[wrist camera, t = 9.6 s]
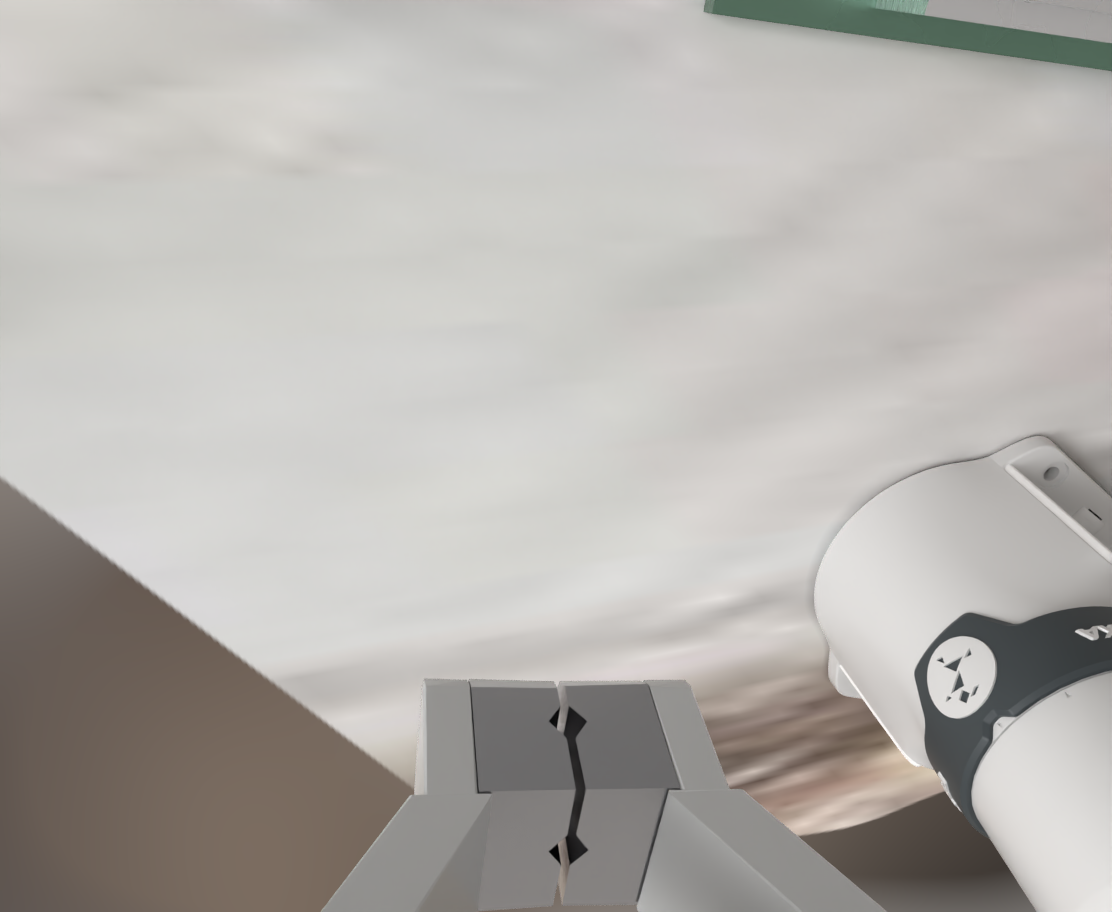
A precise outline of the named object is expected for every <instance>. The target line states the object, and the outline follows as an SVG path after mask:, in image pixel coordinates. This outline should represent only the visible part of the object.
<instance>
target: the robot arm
mask: <svg viewBox="0 0 1112 912" xmlns="http://www.w3.org/2000/svg"><path fill="white" fill-rule="evenodd" d="M1049 468H1050V469H1049ZM1047 469H1049V470H1048V471H1047V472H1045V471H1046V470H1047ZM814 604H815V611H816V615H817V619H818V622H819V624H820V627H821V629H822V631H823V633H824V634H825V636H826V638H827V641H828V643H829V647H830V654H829V664H828V675H829V679H830V681H831V683H832V684H833V685H834V687H835V688H836V689H837V691H838V692H839V693H840V694H842V695H844V696H848V697H854V698H861V699H863V700H864V702H865V703H866V704H867V706H868V707H869V709H870V710H871V711H872V713H873V714H874V716H875V717H876V718H877V720H878V721H879V722H880V724H881V725H882V727H883V728H884V729H885V731H886V732H887V734H888V735H889V736H890V738H891V739H892V740H893V742H894V743H895V745H896V746H897V747H898V749H899V750H900V751H901V753H902V754H903V755H904V757H905V758H906V759H907V760H908V761H909V762H910V763H912V764H913V765H915V766H917V767H919V766H924V767H926V768H929V769H933V770H935V772H936V773H937V775H938V776H939V778H940V780H941V785H942V786H943V788H944V790H945V791H946V793H947V795H948V796H949V798H950V799H951V800H952V802H953V803H954V805H955V806H956V807H958V809H959V810H960V811H962V812H963V814H964V815H965V817H966V818H967V820H968V821H969V823H970V824H971V825H972V826H973V827H974V828H975V829H976V830H977V831H978V832H980V833H981V834H982V835H984V836H985V837H988V838H990V839H991V840H992V842H993V844H994V845H995V847H996V849H997V850H998V852H999V853H1000V855H1001V856H1002V858H1003V859H1004V861H1005V863H1006V864H1007V866H1008V867H1009V869H1010V870H1011V872H1012V874H1013V875H1014V877H1015V878H1016V880H1017V881H1018V883H1019V885H1020V886H1021V888H1022V889H1023V891H1024V892H1025V894H1026V895H1027V897H1028V899H1029V900H1030V902H1031V903H1032V905H1033V906H1034V908H1035V910H1036V911H1037V912H1112V497H1111V496H1110V495H1109V494H1107V493H1106V492H1105V491H1104V490H1103V489H1102V488H1101V487H1100V486H1099V485H1098V484H1097V483H1096V482H1095V481H1094V480H1093V479H1092V478H1090V477H1089V476H1088V475H1087V474H1086V473H1085V472H1084V471H1083V470H1082V469H1081V468H1080V467H1079V466H1078V465H1077V464H1076V463H1075V462H1073V461H1072V460H1071V459H1070V458H1069V457H1068V456H1067V455H1066V454H1065V453H1064V452H1063V451H1062V450H1061V449H1060V448H1059V447H1058V446H1057V445H1055V444H1054V443H1053V442H1052V441H1051V440H1050V439H1048V438H1046V437H1044V436H1033V437H1030V438H1026V439H1024V440H1021V441H1019V442H1017V443H1014V444H1012V445H1010V446H1008V447H1006V448H1004V449H1002V450H1000V451H998V452H996V453H995V454H993V455H991V456H989V457H985V458H982V459H978V460H973V461H966V462H960V463H953V464H948V465H943V466H939V467H935V468H931V469H928V470H925V471H922V472H920V473H917V474H915V475H912V476H910V477H908V478H906V479H904V480H902V481H900V482H898V483H896V484H894V485H892V486H891V487H889V488H887V489H886V490H884V491H883V492H881V493H880V494H878V495H877V496H875V497H874V498H873V499H871V500H870V501H869V502H868V503H866V504H865V505H864V506H863V507H862V508H861V509H859V510H858V511H857V512H856V513H855V514H854V515H853V516H852V517H851V518H850V519H849V520H848V522H847V523H846V524H845V525H844V526H843V527H842V529H841V530H840V531H839V533H838V534H837V535H836V537H835V538H834V540H833V541H832V543H831V544H830V546H829V548H828V550H827V551H826V553H825V555H824V558H823V560H822V562H821V565H820V567H819V570H818V574H817V578H816V583H815V590H814ZM557 883H559V889H560V896H561V902H562V906H572V905H638V906H637V910H638V911H639V912H887V911H886V910H884V909H883V908H882V907H881V906H880V905H879V904H877V903H876V902H875V901H874V900H872V899H871V898H870V897H869V896H868V895H867V894H865V893H864V892H863V891H862V890H861V889H860V888H858V887H857V886H856V885H855V884H854V883H853V882H851V881H850V880H849V879H848V878H847V877H845V876H844V875H843V874H842V873H841V872H839V871H838V870H837V869H836V868H835V867H834V866H832V865H831V864H830V863H829V862H828V861H826V860H825V859H824V858H823V857H821V855H819V854H818V853H817V852H816V851H815V850H813V849H812V848H811V847H810V846H809V845H807V844H806V843H805V842H804V841H803V840H802V839H800V838H799V837H798V836H797V835H796V834H794V833H793V832H792V831H791V830H790V829H789V828H787V827H786V826H785V825H784V824H783V823H781V822H780V821H779V820H778V819H777V818H775V817H774V816H773V815H772V814H771V813H770V812H768V811H767V810H766V809H765V808H764V807H762V806H761V805H760V804H759V803H758V802H757V801H755V800H754V799H753V798H752V797H751V796H749V795H748V794H747V793H746V792H745V791H744V790H742V789H729V786H728V784H727V781H726V778H725V776H724V773H723V770H722V768H721V765H720V762H719V760H718V757H717V754H716V752H715V749H714V746H713V744H712V741H711V738H710V736H709V733H708V730H707V728H706V725H705V722H704V720H703V717H702V714H701V712H700V709H699V706H698V704H697V701H696V698H695V696H694V693H693V690H692V688H691V686H690V685H689V684H688V683H687V682H686V681H685V680H644V681H643V682H642V681H560V683H559V685H558V687H556V685H555V683H554V681H520V680H485V679H469V681H468V682H467V680H450V679H424V680H423V684H422V693H421V705H420V717H419V729H418V742H417V755H416V773H415V790H414V795H410V796H409V797H408V799H407V800H406V801H405V803H404V804H403V805H402V806H401V808H400V809H399V811H398V812H397V813H396V814H395V816H394V817H393V819H391V821H390V822H389V824H388V825H387V826H386V827H385V829H384V830H383V831H382V833H381V834H380V835H379V836H378V838H377V839H376V840H375V842H374V843H373V844H372V846H371V847H370V848H369V850H368V851H367V852H366V853H365V855H364V856H363V858H362V859H361V860H360V861H359V863H358V864H357V865H356V866H355V868H354V869H353V870H352V872H351V873H350V874H349V876H348V877H347V878H346V880H345V881H344V882H343V883H342V885H341V886H340V887H339V889H338V890H337V891H336V893H335V894H334V895H333V896H332V898H331V899H330V900H329V902H328V903H327V904H326V906H325V907H324V908H323V909H322V911H321V912H477V911H487V910H502V909H516V908H530V907H544V906H553V901H554V897H555V892H556V887H557Z"/></svg>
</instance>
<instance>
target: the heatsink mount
mask: <svg viewBox="0 0 1112 912" xmlns="http://www.w3.org/2000/svg"><path fill="white" fill-rule="evenodd" d="M704 12H708V13H712V14H719V15H725V16H732V17H739V18H746V19H753V20H760V21H767V22H774V23H781V24H788V25H795V26H802V27H809V28H816V29H823V30H830V31H837V32H844V33H851V34H858V35H865V36H872V37H879V38H886V39H893V40H900V41H907V42H914V43H921V44H928V45H935V46H942V47H949V48H956V49H963V50H970V51H977V52H983V53H990V54H997V55H1004V56H1011V57H1018V58H1025V59H1032V60H1039V61H1046V62H1053V63H1060V64H1067V65H1074V66H1081V67H1088V68H1095V69H1102V70H1109V71H1112V0H706V1H705V7H704Z"/></svg>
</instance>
